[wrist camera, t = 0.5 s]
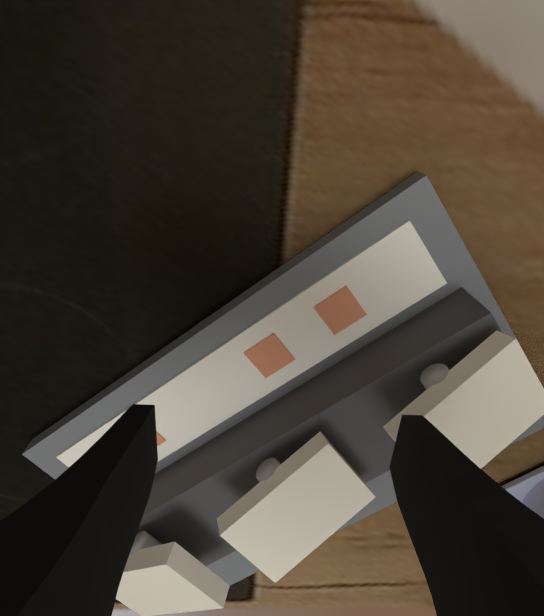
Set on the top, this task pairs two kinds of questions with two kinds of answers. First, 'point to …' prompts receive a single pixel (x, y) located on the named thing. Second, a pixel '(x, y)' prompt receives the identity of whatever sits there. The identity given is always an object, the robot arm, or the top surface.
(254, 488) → the switch middle
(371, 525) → the top surface
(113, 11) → the top surface
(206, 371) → the switch panel
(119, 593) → the switch far
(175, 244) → the top surface
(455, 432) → the switch near
